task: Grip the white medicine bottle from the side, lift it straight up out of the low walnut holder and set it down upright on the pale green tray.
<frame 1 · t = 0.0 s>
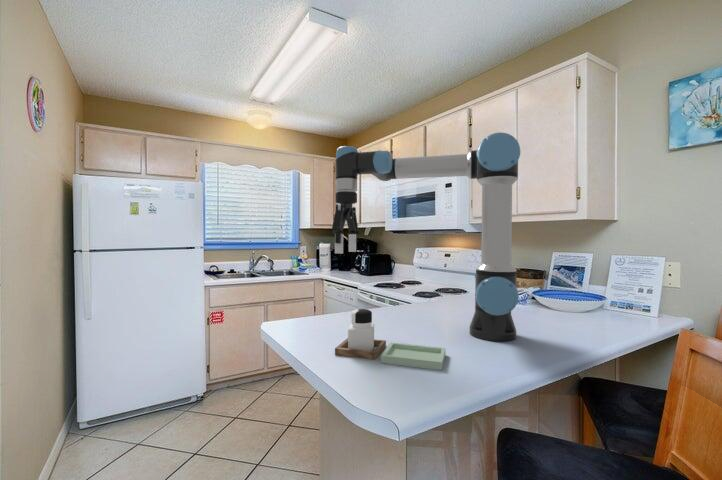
hand: (346, 252, 122), 28 cm above the table, tool pointing down, fingers open, 13 cm apart
holder: (361, 350, 103), on the table
tray: (414, 358, 96), on the table
medicine bottle: (361, 351, 103), resting in holder
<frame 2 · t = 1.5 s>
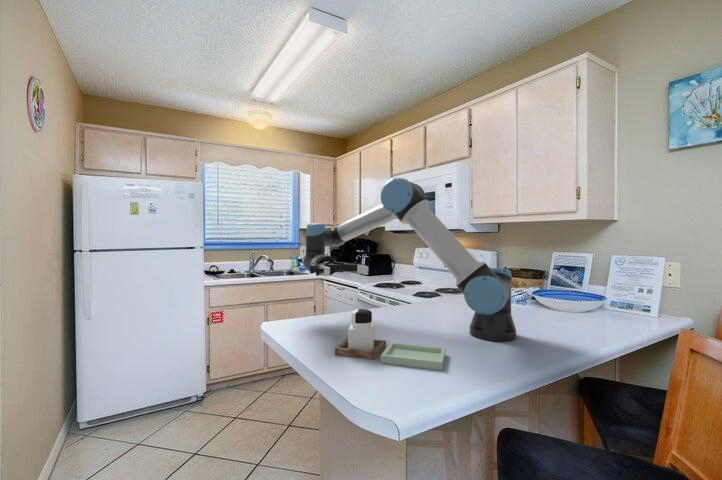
hand: (348, 271, 111), 23 cm above the table, tool horizontal, fingers open, 13 cm apart
nothing on the table moved.
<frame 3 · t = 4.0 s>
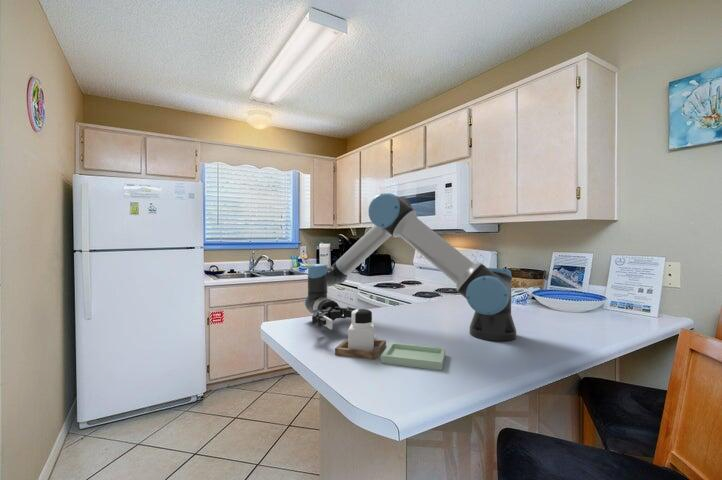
hand: (351, 322, 108), 7 cm above the table, tool horizontal, fingers open, 13 cm apart
nothing on the table moved.
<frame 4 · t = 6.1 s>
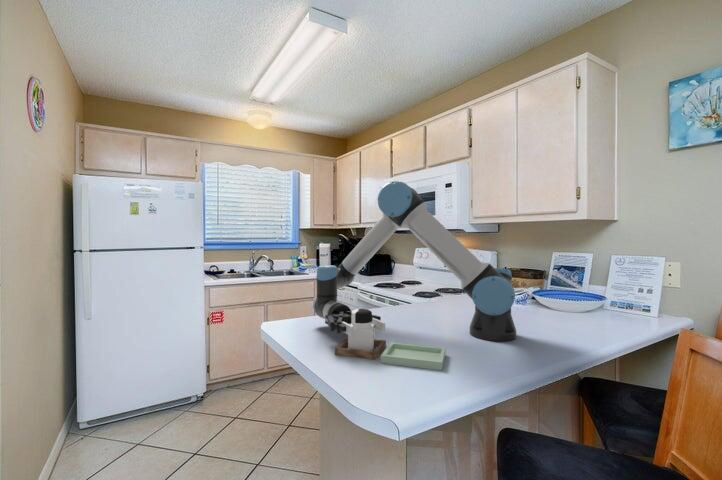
hand: (368, 329, 99), 7 cm above the table, tool horizontal, fingers closed on medicine bottle, 10 cm apart
medicine bottle: (361, 351, 103), resting in holder, touching gripper
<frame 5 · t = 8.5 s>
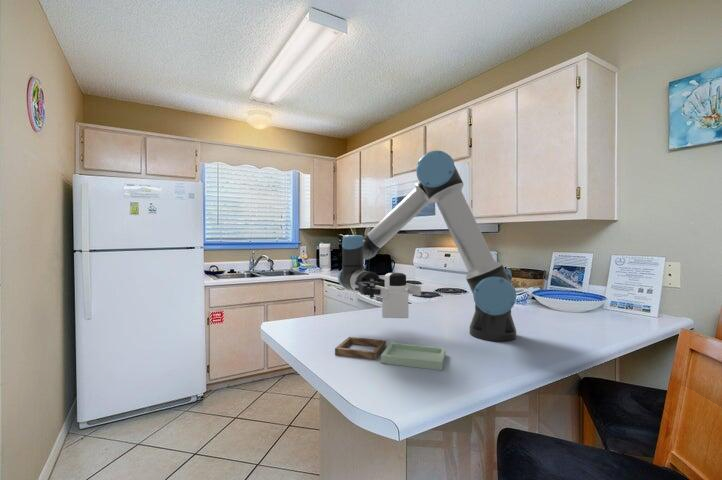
hand: (404, 292, 94), 19 cm above the table, tool horizontal, fingers closed on medicine bottle, 10 cm apart
medicine bottle: (395, 316, 98), point 11 cm above the table, touching gripper
when the fingers open (9 cm above the table, at t = 11.2 s): medicine bottle drops 1 cm, resting on tray.
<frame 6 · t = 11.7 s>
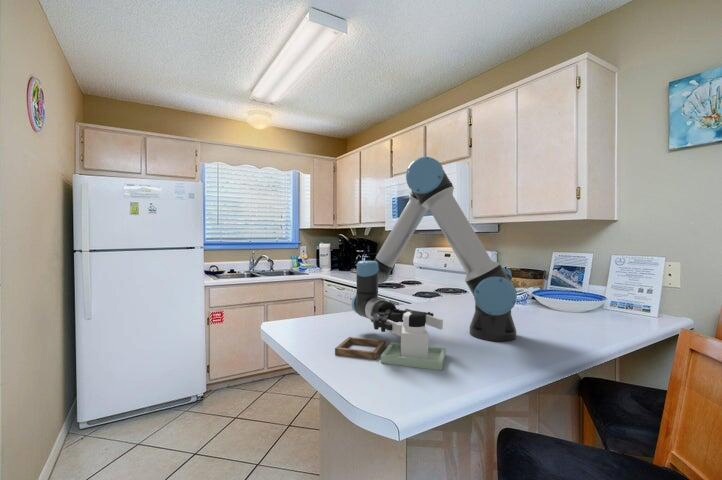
hand: (421, 327, 93), 10 cm above the table, tool horizontal, fingers open, 13 cm apart
medicine bottle: (413, 356, 96), point 1 cm above the table, touching tray
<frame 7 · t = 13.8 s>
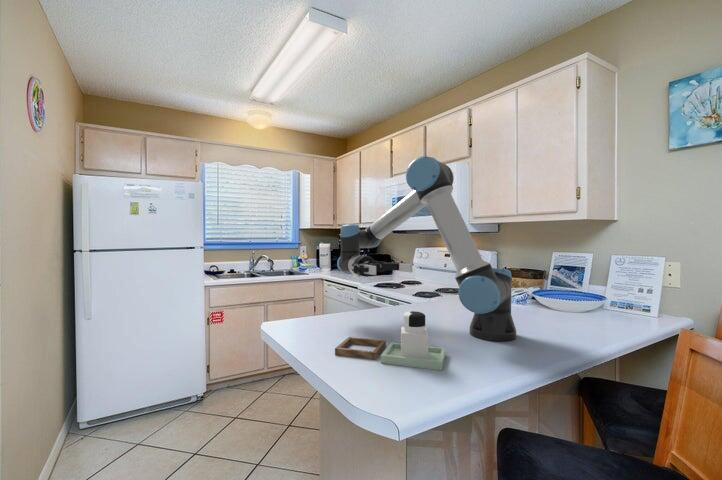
hand: (393, 269, 109), 23 cm above the table, tool horizontal, fingers open, 13 cm apart
nothing on the table moved.
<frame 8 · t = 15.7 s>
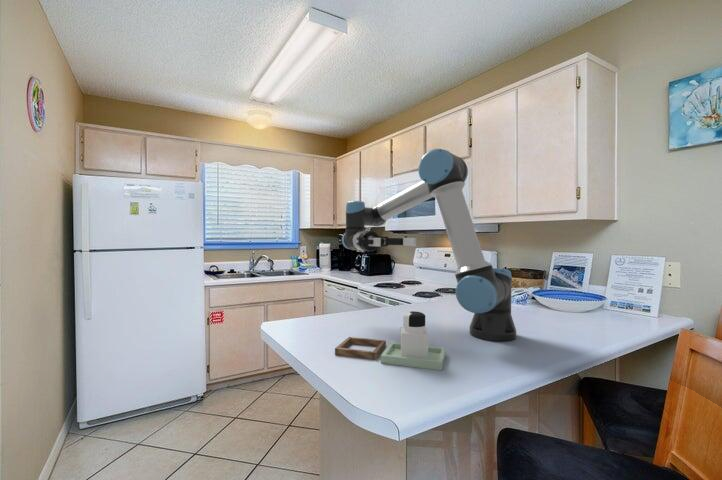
hand: (398, 242, 111), 32 cm above the table, tool horizontal, fingers open, 13 cm apart
nothing on the table moved.
at the end: medicine bottle inside the target area on the tray (0.1 cm from its centre), point 0.6 cm above the tray's base; medicine bottle tilted 0°; the gripper is holding nothing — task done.
